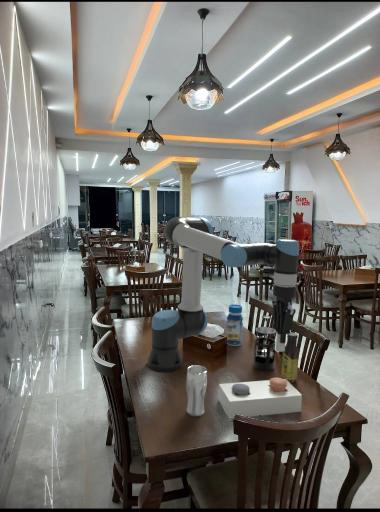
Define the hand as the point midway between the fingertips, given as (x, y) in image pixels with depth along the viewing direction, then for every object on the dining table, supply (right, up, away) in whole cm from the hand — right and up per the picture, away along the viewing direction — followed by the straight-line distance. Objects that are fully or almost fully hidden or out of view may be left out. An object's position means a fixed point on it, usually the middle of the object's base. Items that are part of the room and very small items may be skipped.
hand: (280, 350), depth 126 cm
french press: (+1, -16, +33) cm, 37 cm away
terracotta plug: (0, -18, +2) cm, 18 cm away
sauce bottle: (+9, -18, +21) cm, 29 cm away
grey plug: (-14, -19, -1) cm, 24 cm away
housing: (-7, -20, +1) cm, 21 cm away
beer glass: (-30, -20, -4) cm, 36 cm away
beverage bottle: (-9, -12, +59) cm, 61 cm away
